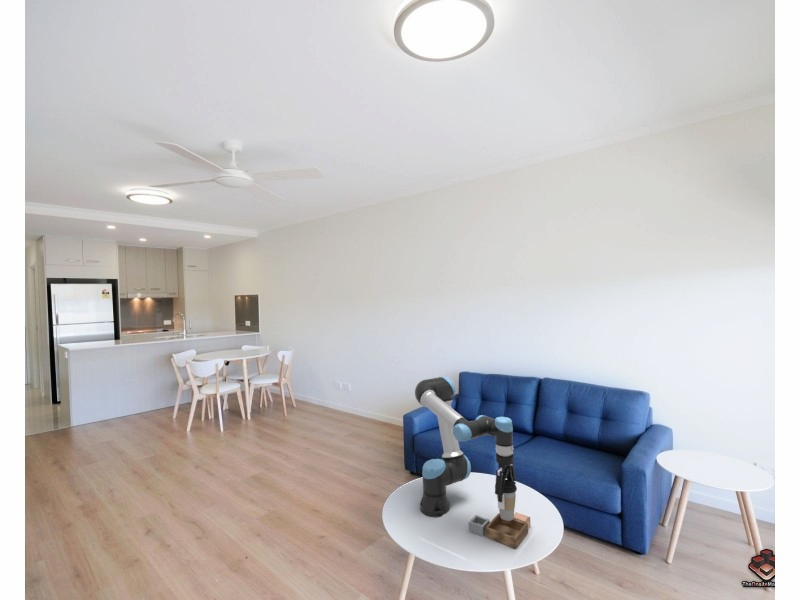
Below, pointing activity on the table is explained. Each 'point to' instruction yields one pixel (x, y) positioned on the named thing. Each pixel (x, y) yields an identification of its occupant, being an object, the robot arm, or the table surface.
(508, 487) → the coffee cup
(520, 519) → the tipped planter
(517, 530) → the walnut box
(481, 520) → the grey tub
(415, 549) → the table surface
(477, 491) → the table surface
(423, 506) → the robot arm
